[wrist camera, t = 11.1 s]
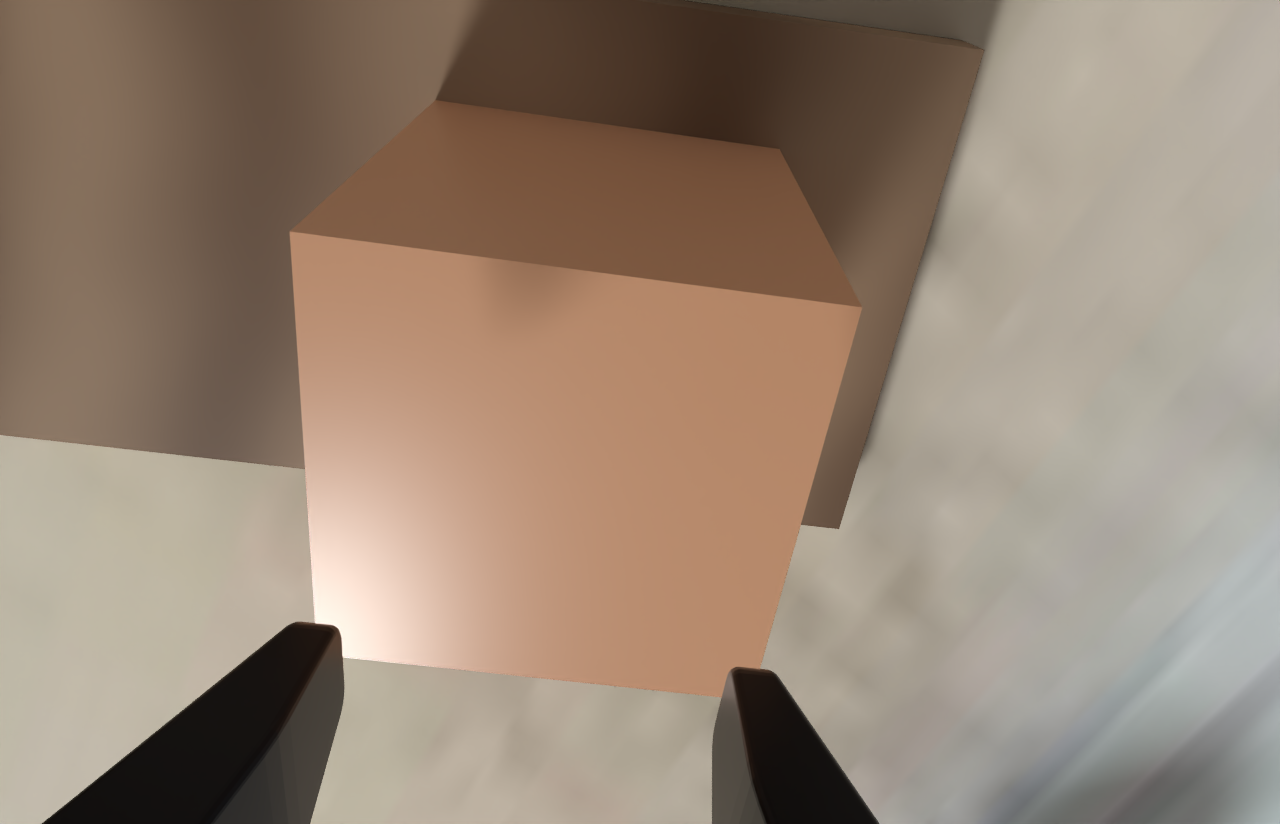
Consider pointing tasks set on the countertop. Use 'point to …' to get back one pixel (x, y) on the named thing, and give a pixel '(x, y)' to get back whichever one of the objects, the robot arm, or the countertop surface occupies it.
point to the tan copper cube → (563, 397)
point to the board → (350, 136)
